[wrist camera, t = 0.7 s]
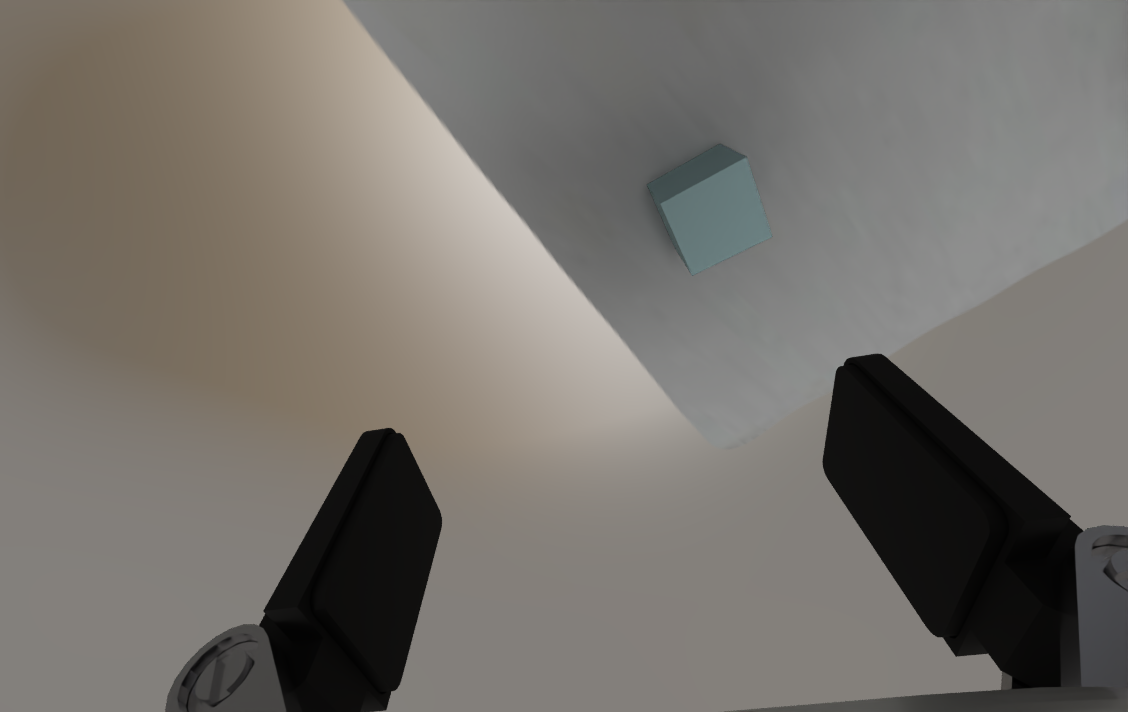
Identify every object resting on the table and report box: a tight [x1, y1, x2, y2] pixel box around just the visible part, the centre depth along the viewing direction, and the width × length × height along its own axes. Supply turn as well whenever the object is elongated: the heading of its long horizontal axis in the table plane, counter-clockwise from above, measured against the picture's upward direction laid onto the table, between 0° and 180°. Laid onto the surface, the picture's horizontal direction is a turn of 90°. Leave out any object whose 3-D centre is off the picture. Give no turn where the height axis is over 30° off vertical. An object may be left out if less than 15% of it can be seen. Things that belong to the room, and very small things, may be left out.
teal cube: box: [647, 144, 772, 276], centre depth 28 cm, size 5×5×5 cm
